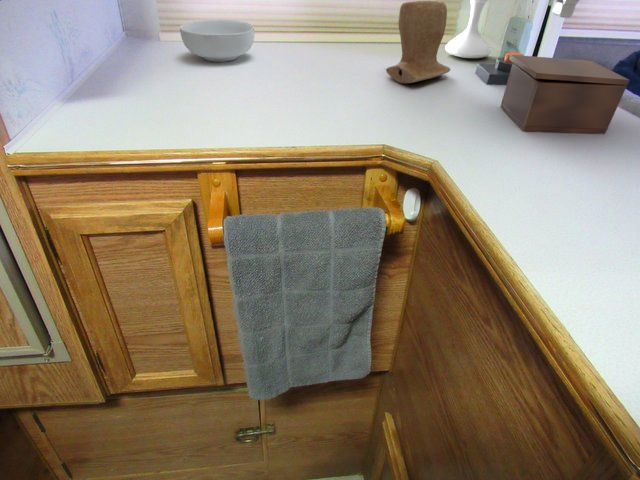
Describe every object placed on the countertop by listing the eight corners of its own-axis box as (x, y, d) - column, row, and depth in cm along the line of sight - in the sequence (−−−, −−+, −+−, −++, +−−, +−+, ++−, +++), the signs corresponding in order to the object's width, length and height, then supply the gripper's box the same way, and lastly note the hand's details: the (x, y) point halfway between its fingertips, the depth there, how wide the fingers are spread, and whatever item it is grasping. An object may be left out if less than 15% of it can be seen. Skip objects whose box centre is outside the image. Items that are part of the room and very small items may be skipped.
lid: (535, 78, 64) (537, 73, 64) (508, 59, 74) (510, 54, 73) (627, 85, 65) (629, 79, 64) (589, 65, 74) (591, 60, 74)
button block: (526, 75, 98) (532, 56, 95) (542, 86, 90) (549, 67, 88) (475, 73, 97) (479, 54, 95) (486, 84, 90) (491, 65, 88)
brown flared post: (412, 66, 101) (423, -6, 92) (455, 77, 94) (472, 0, 85) (370, 77, 93) (378, -2, 84) (414, 90, 86) (428, 6, 77)
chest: (523, 131, 69) (539, 82, 65) (500, 107, 79) (512, 63, 74) (605, 134, 70) (627, 85, 65) (572, 109, 79) (589, 65, 74)
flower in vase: (497, 61, 107) (529, -60, 92) (456, 62, 105) (482, -61, 90) (471, 49, 117) (496, -61, 103) (433, 50, 115) (453, -63, 100)
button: (517, 60, 93) (520, 52, 92) (523, 65, 90) (526, 56, 89) (501, 60, 93) (503, 51, 92) (507, 64, 90) (509, 55, 89)
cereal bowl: (169, 61, 98) (163, 27, 94) (210, 47, 111) (207, 17, 107) (232, 70, 93) (228, 35, 89) (268, 55, 106) (266, 23, 102)
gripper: (543, -97, 65) (516, 5, 73) (615, -106, 48) (570, 28, 56) (584, -96, 65) (552, 6, 73) (671, -104, 48) (618, 29, 56)
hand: (561, 16), depth 65 cm, fingers closed
